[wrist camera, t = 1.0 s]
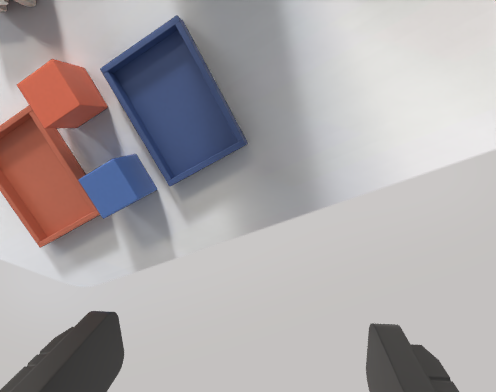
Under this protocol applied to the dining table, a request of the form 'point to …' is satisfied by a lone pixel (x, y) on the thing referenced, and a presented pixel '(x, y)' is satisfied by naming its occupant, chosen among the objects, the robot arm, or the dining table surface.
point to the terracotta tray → (42, 178)
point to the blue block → (117, 184)
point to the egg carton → (28, 0)
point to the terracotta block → (62, 95)
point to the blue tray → (174, 102)
